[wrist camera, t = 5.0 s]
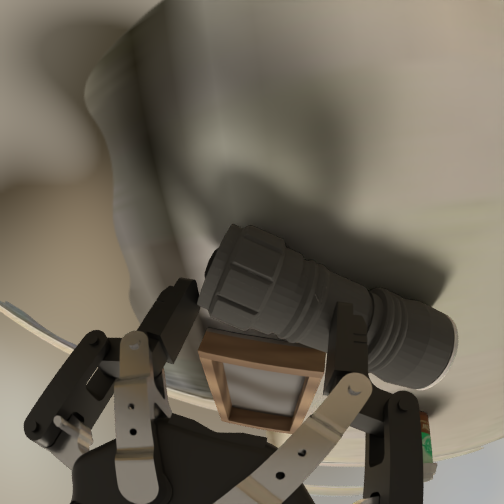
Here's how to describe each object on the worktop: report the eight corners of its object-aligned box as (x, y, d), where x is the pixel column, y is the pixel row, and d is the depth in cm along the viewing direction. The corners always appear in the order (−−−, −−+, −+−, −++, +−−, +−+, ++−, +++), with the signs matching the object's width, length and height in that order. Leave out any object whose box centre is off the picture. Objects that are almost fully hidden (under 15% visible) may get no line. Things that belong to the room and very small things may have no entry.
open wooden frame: (207, 327, 23) (197, 350, 21) (326, 346, 21) (324, 372, 19) (226, 405, 33) (221, 420, 31) (299, 418, 31) (296, 434, 30)
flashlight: (183, 324, 14) (194, 270, 10) (217, 255, 18) (239, 193, 14) (401, 398, 15) (461, 373, 11) (403, 334, 19) (452, 299, 14)
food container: (447, 416, 27) (449, 475, 19) (413, 429, 30) (412, 485, 22) (412, 399, 24) (412, 477, 16) (371, 415, 28) (366, 485, 20)
